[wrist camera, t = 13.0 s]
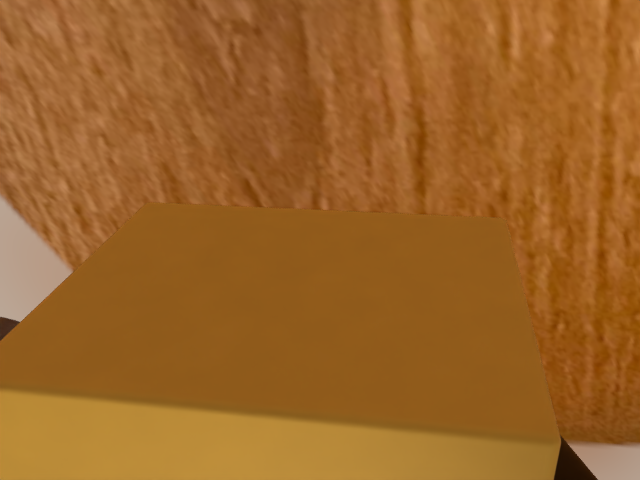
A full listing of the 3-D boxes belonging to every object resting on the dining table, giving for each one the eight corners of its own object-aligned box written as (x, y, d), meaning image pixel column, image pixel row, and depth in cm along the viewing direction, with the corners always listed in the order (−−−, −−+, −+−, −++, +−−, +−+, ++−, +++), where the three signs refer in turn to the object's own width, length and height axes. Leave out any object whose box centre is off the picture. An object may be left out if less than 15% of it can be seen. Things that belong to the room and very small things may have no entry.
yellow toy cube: (188, 456, 11) (72, 704, 7) (145, 199, 9) (-49, 381, 5) (473, 489, 10) (495, 783, 7) (507, 215, 8) (565, 441, 4)
